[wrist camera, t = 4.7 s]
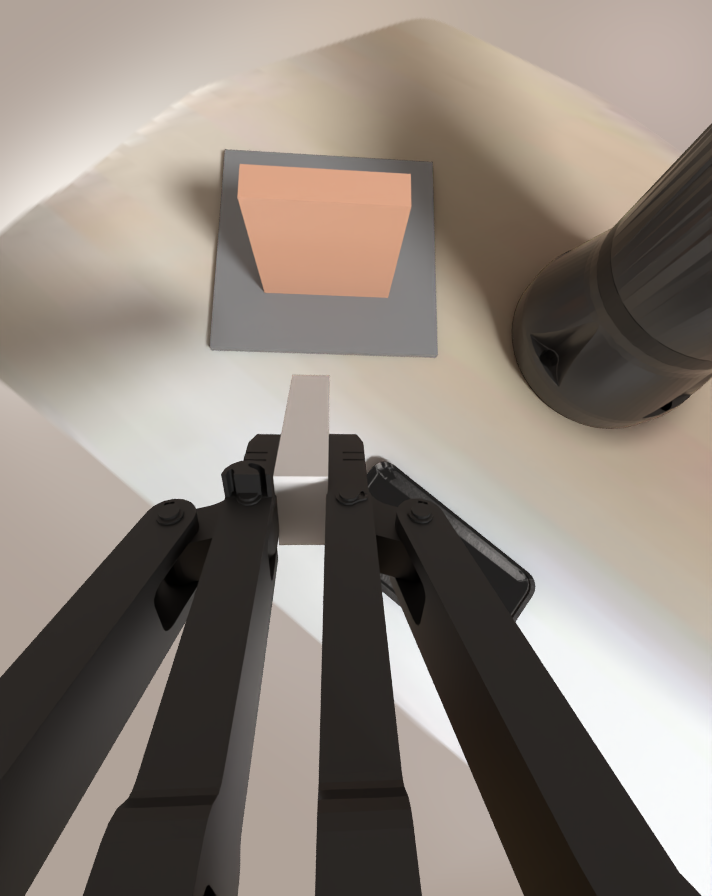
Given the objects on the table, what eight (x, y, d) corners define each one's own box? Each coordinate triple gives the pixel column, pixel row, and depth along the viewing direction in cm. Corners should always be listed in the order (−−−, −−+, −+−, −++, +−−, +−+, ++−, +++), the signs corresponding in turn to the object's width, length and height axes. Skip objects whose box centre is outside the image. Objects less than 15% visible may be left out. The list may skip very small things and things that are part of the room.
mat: (430, 167, 37) (432, 161, 37) (435, 357, 34) (437, 354, 33) (226, 155, 36) (224, 149, 36) (211, 350, 33) (209, 347, 32)
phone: (382, 455, 32) (541, 582, 31) (380, 457, 33) (534, 580, 32) (315, 538, 30) (480, 674, 29) (316, 537, 31) (474, 669, 30)
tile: (387, 271, 35) (410, 171, 25) (387, 297, 34) (411, 206, 24) (266, 265, 34) (239, 161, 24) (264, 292, 34) (237, 197, 24)
